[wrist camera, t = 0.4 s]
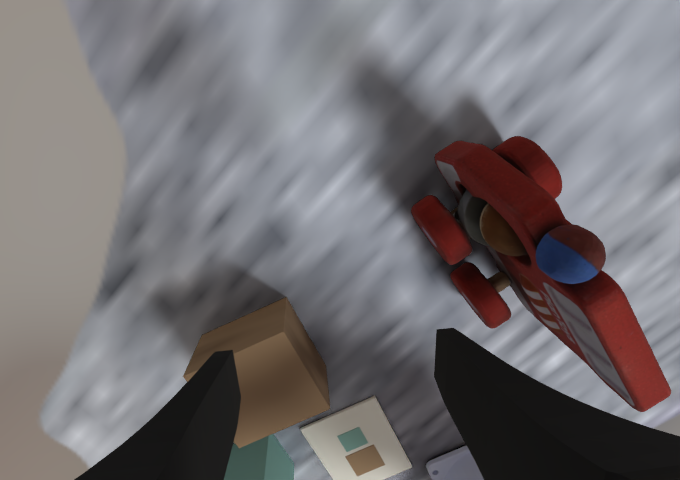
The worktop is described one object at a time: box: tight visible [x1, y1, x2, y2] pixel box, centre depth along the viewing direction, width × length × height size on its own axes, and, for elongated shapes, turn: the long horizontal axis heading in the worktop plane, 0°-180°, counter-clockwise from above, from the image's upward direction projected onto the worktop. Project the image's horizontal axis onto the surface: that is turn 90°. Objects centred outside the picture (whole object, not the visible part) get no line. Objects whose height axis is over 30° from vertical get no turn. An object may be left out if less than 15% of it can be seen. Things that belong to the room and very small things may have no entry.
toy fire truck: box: [411, 136, 671, 412], centre depth 17 cm, size 7×12×10 cm, turn 35°
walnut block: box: [183, 297, 330, 448], centre depth 22 cm, size 6×6×4 cm
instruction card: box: [300, 396, 412, 480], centre depth 27 cm, size 8×6×1 cm
